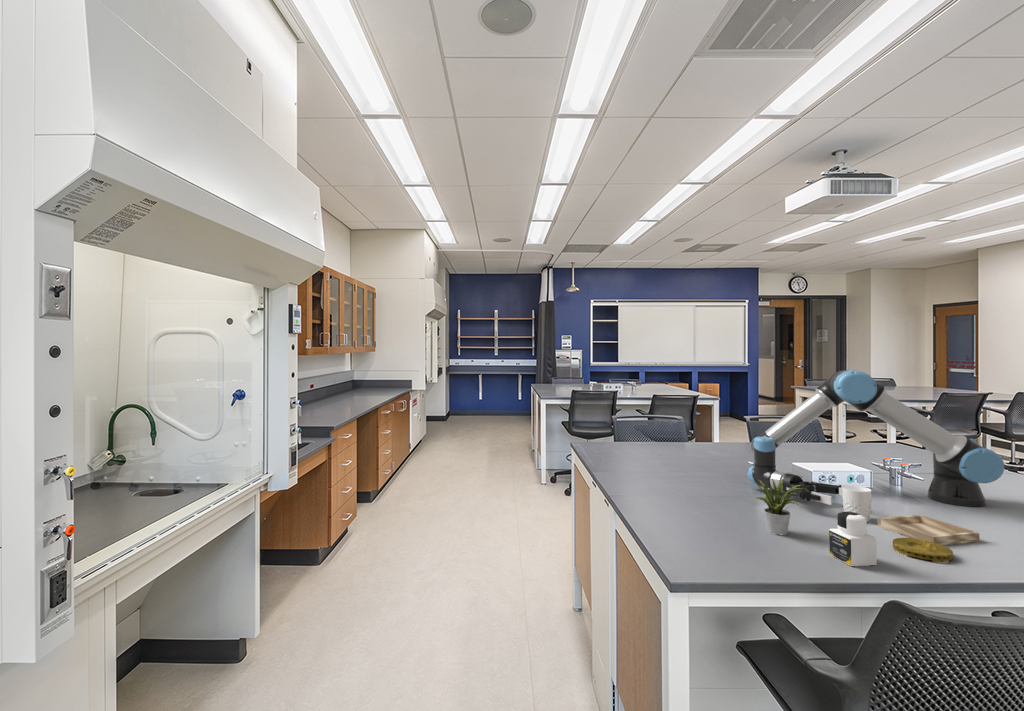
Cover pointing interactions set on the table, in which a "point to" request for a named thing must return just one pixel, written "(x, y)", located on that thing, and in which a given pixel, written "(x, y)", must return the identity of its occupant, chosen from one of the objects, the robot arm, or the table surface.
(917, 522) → the tray
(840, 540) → the medicine bottle
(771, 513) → the house plant
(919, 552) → the gold notched disc
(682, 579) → the table surface
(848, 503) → the white cup
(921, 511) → the table surface
